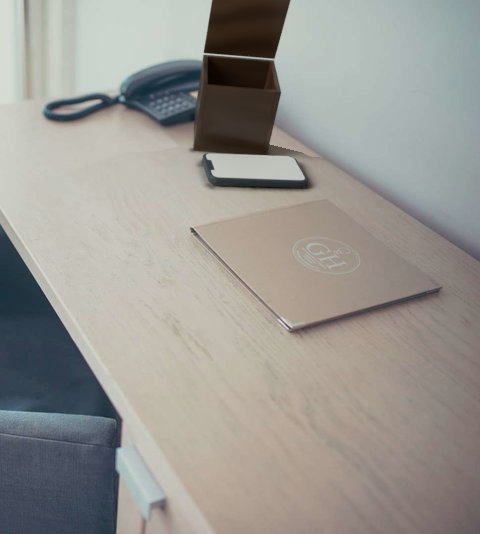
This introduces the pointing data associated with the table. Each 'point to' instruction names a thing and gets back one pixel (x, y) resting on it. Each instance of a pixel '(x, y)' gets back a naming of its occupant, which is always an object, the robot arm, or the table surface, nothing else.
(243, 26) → the lid
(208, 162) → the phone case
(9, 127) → the table surface
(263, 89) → the chest
